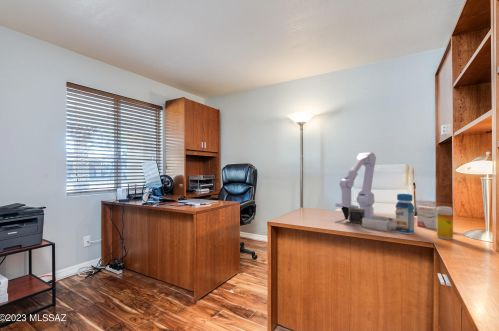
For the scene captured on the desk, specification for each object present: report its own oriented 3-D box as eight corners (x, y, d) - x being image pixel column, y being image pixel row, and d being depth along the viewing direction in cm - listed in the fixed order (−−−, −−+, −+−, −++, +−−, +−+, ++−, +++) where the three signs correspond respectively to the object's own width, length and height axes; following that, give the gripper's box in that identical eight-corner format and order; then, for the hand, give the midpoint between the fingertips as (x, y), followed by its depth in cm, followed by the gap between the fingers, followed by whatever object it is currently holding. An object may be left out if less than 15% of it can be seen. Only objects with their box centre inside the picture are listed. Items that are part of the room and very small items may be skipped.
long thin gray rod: (348, 218, 161) (348, 218, 161) (350, 218, 161) (350, 218, 161) (334, 222, 150) (334, 222, 150) (335, 222, 149) (335, 222, 149)
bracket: (373, 223, 148) (373, 213, 148) (396, 227, 138) (396, 217, 138) (362, 226, 138) (362, 216, 139) (387, 231, 128) (386, 220, 128)
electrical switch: (365, 222, 149) (365, 207, 148) (365, 225, 144) (365, 210, 144) (348, 221, 153) (348, 206, 152) (348, 223, 148) (348, 208, 148)
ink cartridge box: (417, 226, 139) (416, 201, 140) (418, 225, 143) (418, 200, 143) (435, 229, 134) (435, 202, 134) (436, 227, 137) (436, 201, 137)
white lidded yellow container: (454, 240, 112) (453, 208, 112) (437, 238, 115) (437, 207, 115) (451, 237, 117) (451, 206, 117) (436, 235, 120) (435, 205, 121)
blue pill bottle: (417, 235, 122) (417, 195, 122) (399, 234, 123) (399, 195, 123) (409, 230, 130) (409, 193, 130) (392, 230, 131) (392, 193, 132)
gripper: (332, 197, 156) (332, 218, 156) (354, 199, 145) (354, 222, 145) (338, 196, 161) (338, 216, 161) (360, 198, 150) (360, 220, 150)
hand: (346, 219), depth 153 cm, fingers closed
